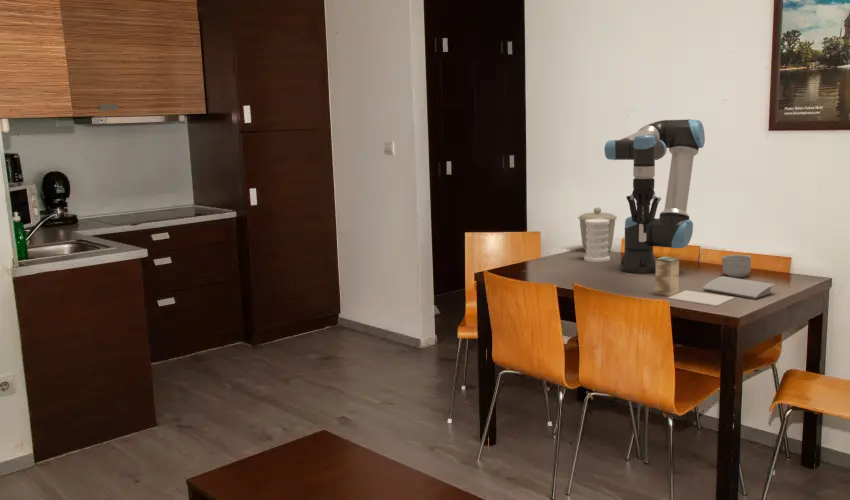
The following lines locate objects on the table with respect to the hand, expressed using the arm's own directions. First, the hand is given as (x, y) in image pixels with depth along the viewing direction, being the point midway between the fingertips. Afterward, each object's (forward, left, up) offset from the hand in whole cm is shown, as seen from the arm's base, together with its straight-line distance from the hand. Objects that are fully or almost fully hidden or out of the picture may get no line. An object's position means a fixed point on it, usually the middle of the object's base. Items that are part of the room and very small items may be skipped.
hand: (642, 241), depth 278 cm
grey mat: (+23, 0, -19) cm, 29 cm away
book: (+29, +18, -19) cm, 39 cm away
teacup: (+18, +44, -19) cm, 51 cm away
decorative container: (-45, +40, -19) cm, 63 cm away
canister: (-57, +59, -19) cm, 84 cm away
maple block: (+10, 0, -19) cm, 21 cm away
